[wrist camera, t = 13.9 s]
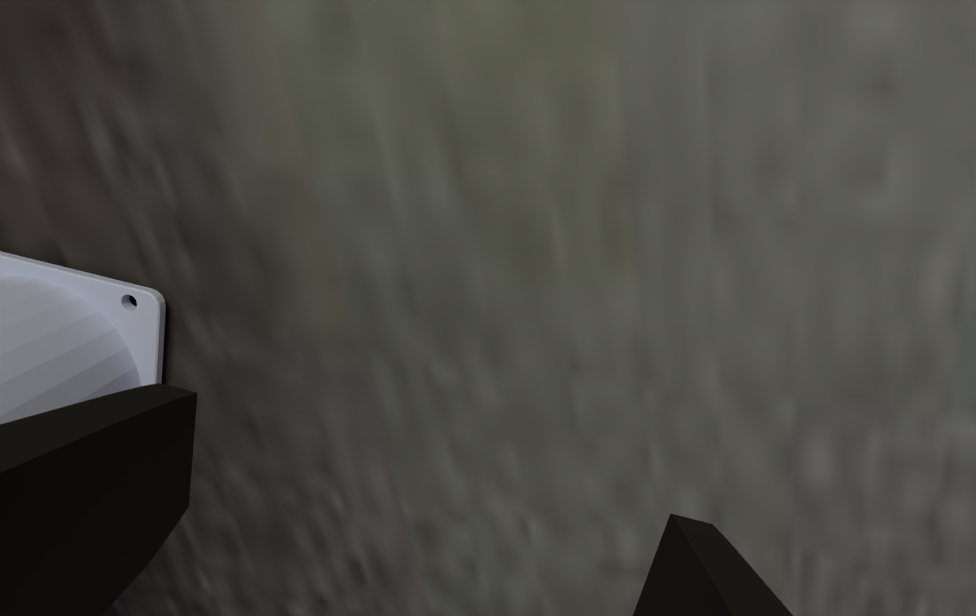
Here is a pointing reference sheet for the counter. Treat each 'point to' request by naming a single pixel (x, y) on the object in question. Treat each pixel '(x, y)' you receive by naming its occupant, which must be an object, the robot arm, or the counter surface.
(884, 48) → the counter surface
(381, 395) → the counter surface
